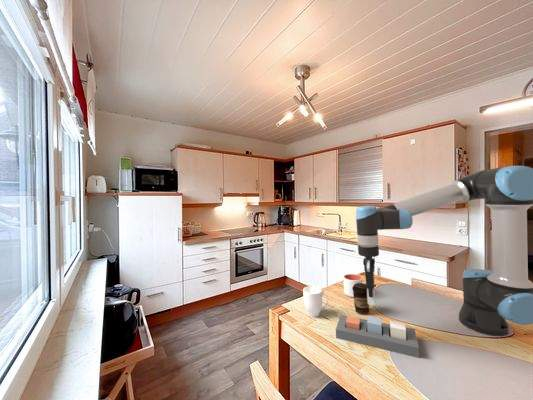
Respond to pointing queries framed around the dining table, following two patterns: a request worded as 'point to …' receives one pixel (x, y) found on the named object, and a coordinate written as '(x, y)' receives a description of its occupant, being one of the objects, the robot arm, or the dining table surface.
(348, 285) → the cup
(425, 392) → the dining table surface
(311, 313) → the mug
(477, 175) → the robot arm
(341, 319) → the key panel
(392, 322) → the key white
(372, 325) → the key slate
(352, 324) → the key rust
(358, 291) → the coffee cup
